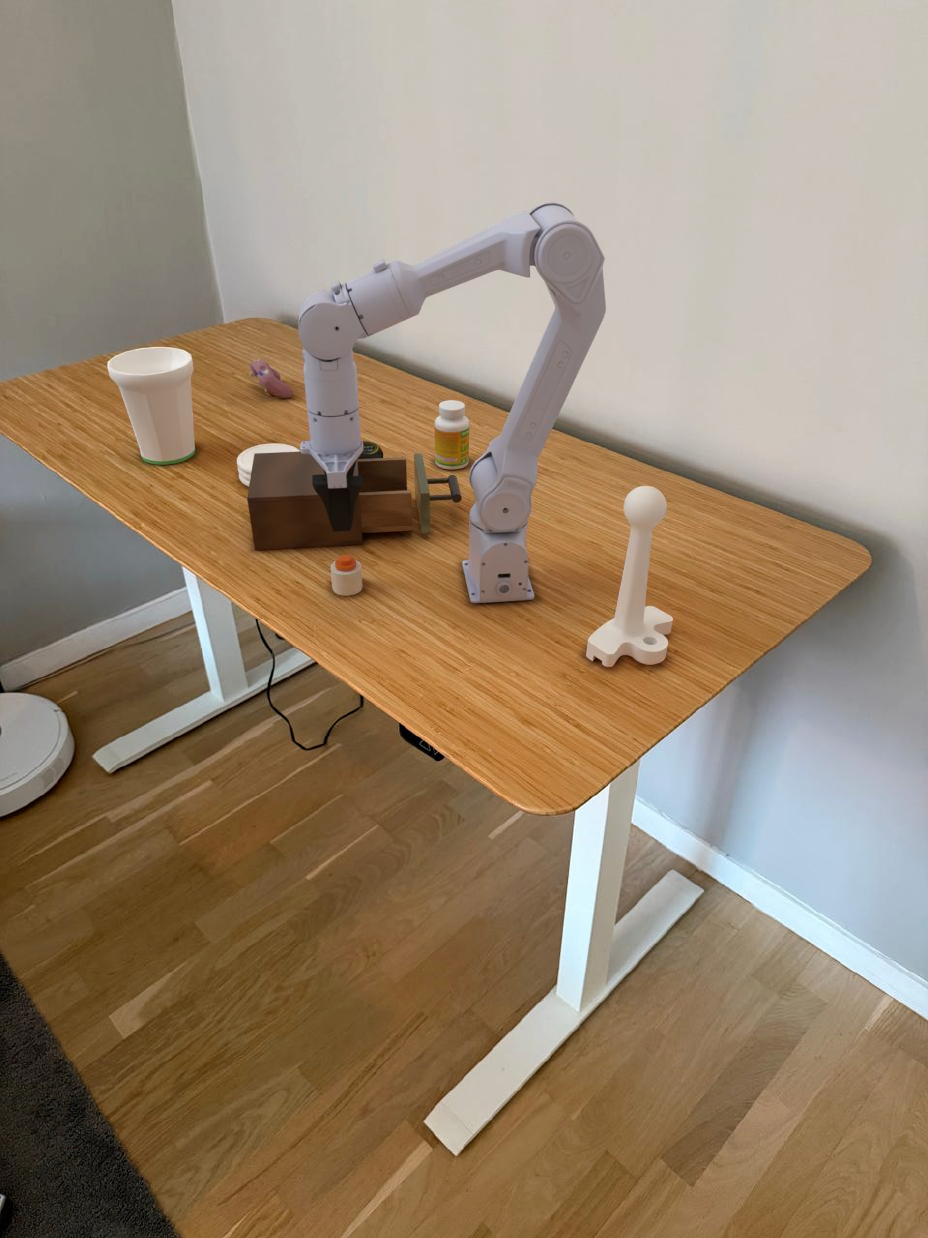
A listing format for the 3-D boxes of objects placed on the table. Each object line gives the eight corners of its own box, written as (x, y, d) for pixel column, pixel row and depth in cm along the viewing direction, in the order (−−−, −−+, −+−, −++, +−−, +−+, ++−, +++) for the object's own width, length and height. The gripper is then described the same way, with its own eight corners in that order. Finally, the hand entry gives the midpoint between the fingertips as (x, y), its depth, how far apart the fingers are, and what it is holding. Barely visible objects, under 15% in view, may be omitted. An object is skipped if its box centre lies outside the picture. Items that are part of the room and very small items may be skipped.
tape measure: (338, 480, 136) (336, 458, 134) (342, 461, 142) (340, 439, 139) (383, 480, 136) (382, 458, 134) (385, 460, 142) (384, 439, 140)
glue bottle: (363, 595, 111) (361, 565, 108) (332, 596, 111) (329, 566, 108) (362, 578, 114) (360, 549, 111) (332, 580, 114) (329, 550, 111)
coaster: (227, 474, 137) (224, 453, 135) (283, 456, 143) (281, 436, 141) (260, 498, 131) (257, 476, 129) (317, 479, 136) (315, 458, 134)
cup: (111, 464, 140) (88, 369, 131) (156, 433, 149) (138, 342, 141) (181, 475, 137) (163, 379, 128) (222, 443, 147) (207, 351, 138)
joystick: (642, 616, 108) (666, 465, 96) (692, 646, 103) (723, 491, 91) (578, 651, 102) (594, 495, 90) (627, 684, 97) (651, 524, 86)
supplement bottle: (465, 472, 139) (465, 413, 133) (431, 468, 140) (430, 409, 134) (471, 457, 143) (472, 399, 137) (439, 454, 144) (438, 396, 138)
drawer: (454, 490, 132) (454, 451, 128) (464, 531, 122) (464, 491, 119) (331, 496, 130) (328, 457, 127) (331, 538, 120) (327, 497, 117)
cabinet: (360, 498, 132) (356, 448, 127) (362, 544, 121) (359, 492, 116) (261, 502, 130) (254, 453, 125) (254, 550, 119) (247, 497, 115)
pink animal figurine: (261, 391, 169) (240, 361, 164) (281, 377, 169) (261, 347, 165) (275, 409, 162) (254, 379, 157) (296, 395, 162) (275, 364, 157)
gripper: (298, 383, 104) (309, 488, 112) (294, 435, 92) (306, 548, 100) (359, 381, 104) (365, 485, 112) (362, 432, 93) (369, 544, 101)
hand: (341, 514), depth 106 cm, fingers open, 6 cm apart
